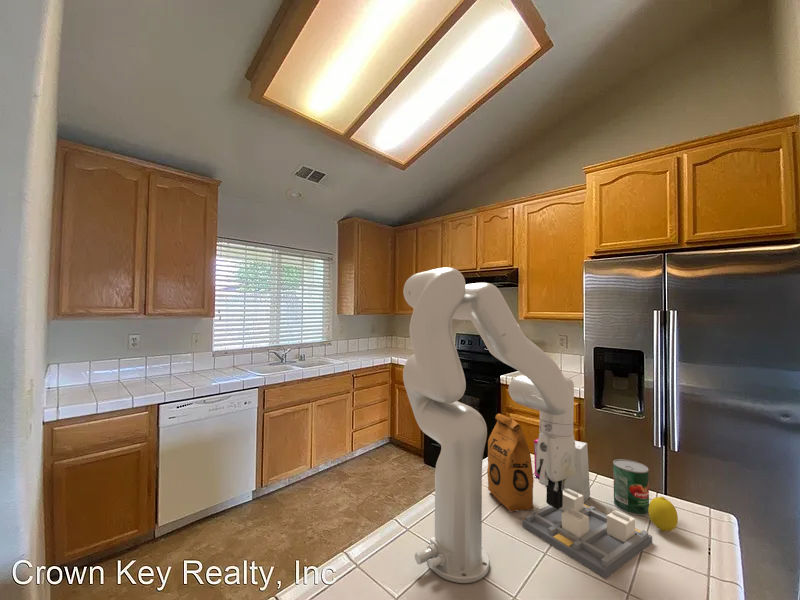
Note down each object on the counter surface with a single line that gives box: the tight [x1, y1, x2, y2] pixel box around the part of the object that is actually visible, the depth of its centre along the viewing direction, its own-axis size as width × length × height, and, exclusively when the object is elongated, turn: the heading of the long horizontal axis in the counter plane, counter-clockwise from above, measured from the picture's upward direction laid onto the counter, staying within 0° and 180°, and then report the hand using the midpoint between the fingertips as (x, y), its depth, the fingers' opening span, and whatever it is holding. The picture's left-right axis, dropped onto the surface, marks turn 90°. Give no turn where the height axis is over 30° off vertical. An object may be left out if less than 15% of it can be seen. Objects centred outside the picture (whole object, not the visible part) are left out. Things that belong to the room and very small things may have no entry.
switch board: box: [522, 503, 653, 580], centre depth 80 cm, size 20×19×2 cm
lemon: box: [648, 496, 679, 533], centre depth 81 cm, size 6×6×8 cm
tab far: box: [559, 489, 584, 512], centre depth 87 cm, size 4×4×5 cm
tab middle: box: [562, 508, 589, 538], centre depth 77 cm, size 4×4×5 cm
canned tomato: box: [612, 458, 650, 517], centre depth 92 cm, size 8×8×11 cm
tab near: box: [606, 509, 636, 543], centre depth 77 cm, size 4×4×5 cm
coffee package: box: [486, 413, 534, 513], centre depth 94 cm, size 10×12×22 cm
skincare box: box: [561, 440, 591, 504], centre depth 97 cm, size 8×6×15 cm
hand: (554, 505), depth 83 cm, fingers closed
